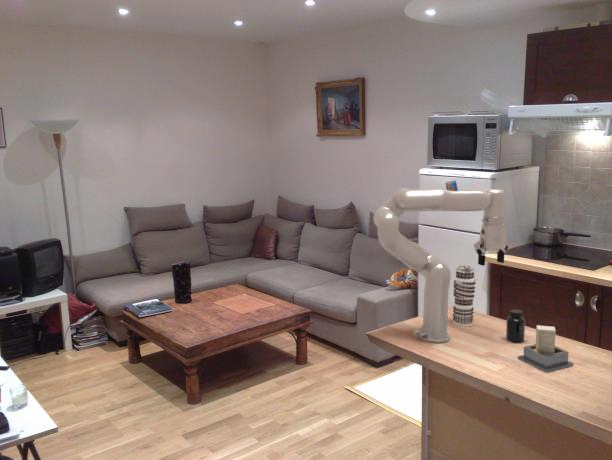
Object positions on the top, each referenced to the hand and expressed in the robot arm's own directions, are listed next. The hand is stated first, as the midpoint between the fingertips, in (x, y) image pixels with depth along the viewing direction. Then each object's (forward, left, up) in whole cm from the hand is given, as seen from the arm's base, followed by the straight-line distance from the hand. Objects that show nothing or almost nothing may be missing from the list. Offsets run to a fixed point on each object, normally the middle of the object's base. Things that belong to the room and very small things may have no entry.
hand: (490, 263), depth 221 cm
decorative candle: (+2, +17, -31) cm, 35 cm away
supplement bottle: (+7, -8, -31) cm, 32 cm away
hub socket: (+1, -29, -30) cm, 42 cm away
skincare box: (0, -29, -30) cm, 41 cm away
